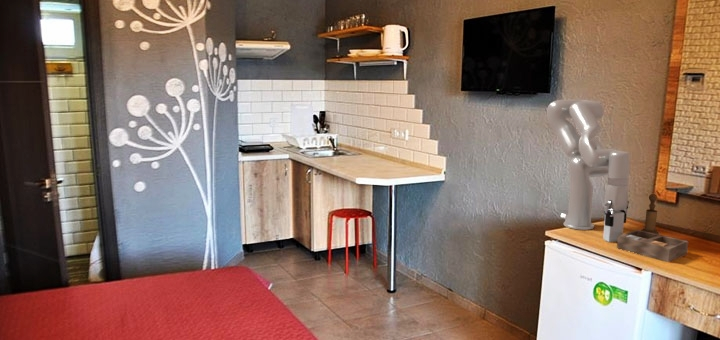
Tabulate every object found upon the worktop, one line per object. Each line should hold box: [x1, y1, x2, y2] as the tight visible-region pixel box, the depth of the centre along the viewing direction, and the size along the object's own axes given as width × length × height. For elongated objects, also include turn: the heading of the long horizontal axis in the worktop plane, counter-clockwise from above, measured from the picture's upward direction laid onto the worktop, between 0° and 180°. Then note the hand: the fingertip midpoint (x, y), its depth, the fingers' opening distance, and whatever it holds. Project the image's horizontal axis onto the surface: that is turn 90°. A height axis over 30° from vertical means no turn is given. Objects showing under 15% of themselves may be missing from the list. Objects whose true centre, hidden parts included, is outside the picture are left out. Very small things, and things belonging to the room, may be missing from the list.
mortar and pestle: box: [640, 193, 659, 234], centre depth 223 cm, size 7×6×18 cm
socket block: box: [616, 229, 689, 263], centre depth 205 cm, size 19×15×5 cm
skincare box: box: [602, 211, 625, 243], centre depth 218 cm, size 6×4×12 cm
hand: (615, 224), depth 217 cm, fingers open, 9 cm apart
